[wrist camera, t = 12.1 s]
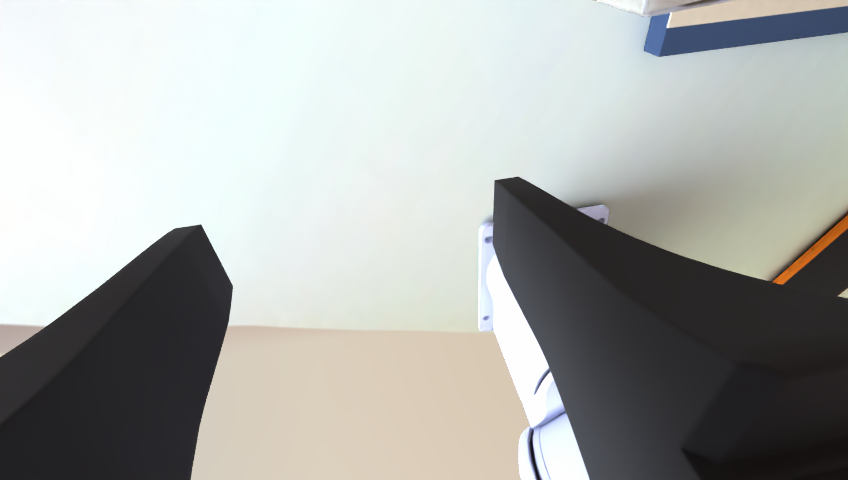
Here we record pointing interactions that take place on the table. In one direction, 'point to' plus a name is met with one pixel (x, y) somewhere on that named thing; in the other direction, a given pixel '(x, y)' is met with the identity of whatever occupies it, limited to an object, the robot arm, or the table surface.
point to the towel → (744, 24)
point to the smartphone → (822, 264)
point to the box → (658, 5)
